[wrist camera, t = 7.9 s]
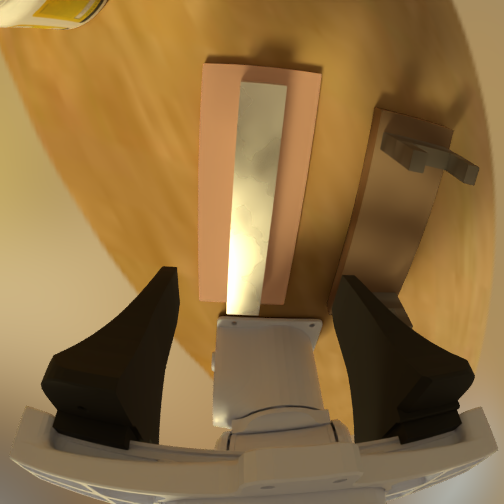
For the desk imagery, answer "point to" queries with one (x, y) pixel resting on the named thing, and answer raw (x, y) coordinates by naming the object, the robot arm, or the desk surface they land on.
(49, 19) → the supplement bottle
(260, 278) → the steel rail
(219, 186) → the mat
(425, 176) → the hook stand
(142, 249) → the desk surface
